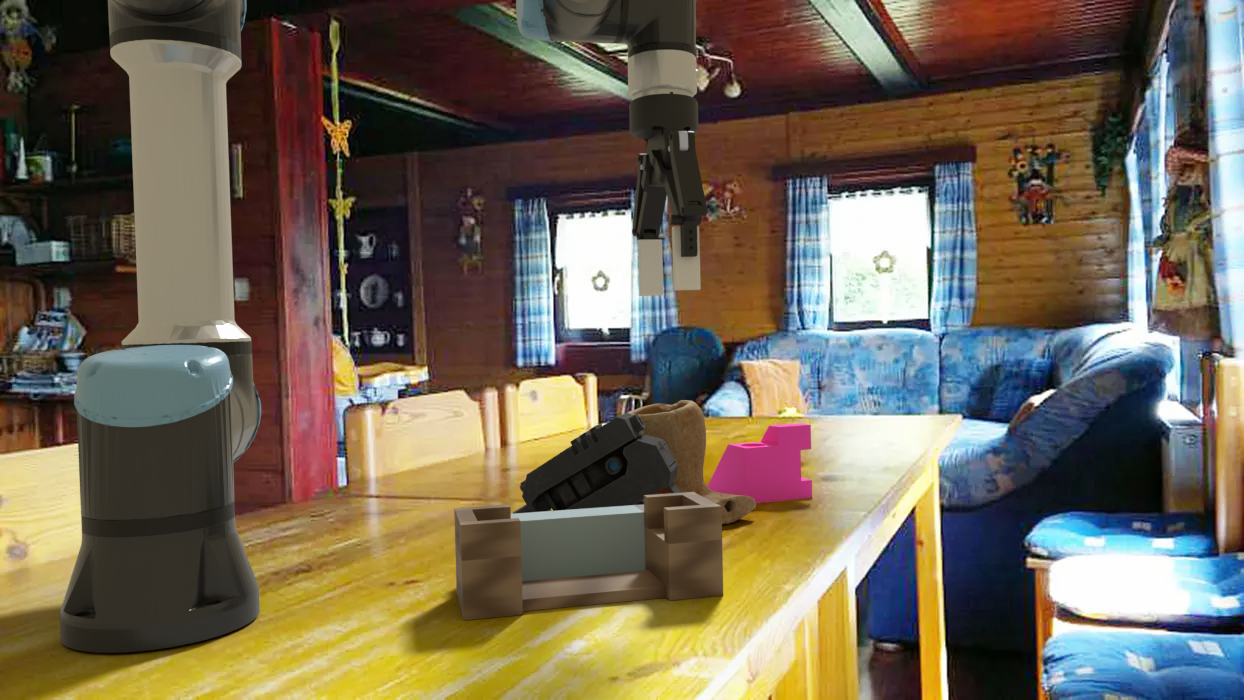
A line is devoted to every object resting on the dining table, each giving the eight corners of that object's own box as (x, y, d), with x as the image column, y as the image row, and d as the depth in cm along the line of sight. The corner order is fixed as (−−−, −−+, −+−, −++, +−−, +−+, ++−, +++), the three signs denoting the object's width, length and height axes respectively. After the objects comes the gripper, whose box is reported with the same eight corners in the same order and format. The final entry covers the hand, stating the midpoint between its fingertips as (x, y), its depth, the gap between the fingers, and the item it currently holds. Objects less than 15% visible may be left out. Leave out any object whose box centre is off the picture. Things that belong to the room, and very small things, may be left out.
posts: (463, 620, 79) (460, 525, 79) (456, 594, 87) (454, 508, 86) (723, 595, 84) (721, 506, 84) (695, 573, 92) (693, 491, 92)
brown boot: (604, 522, 118) (601, 403, 118) (660, 507, 127) (657, 396, 127) (706, 536, 109) (703, 406, 108) (758, 518, 118) (756, 399, 118)
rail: (482, 587, 89) (480, 524, 89) (478, 576, 93) (476, 516, 93) (664, 571, 93) (663, 510, 93) (653, 561, 97) (652, 503, 97)
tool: (702, 523, 102) (631, 403, 103) (555, 606, 105) (488, 489, 107) (708, 512, 108) (641, 399, 109) (569, 591, 111) (506, 480, 113)
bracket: (812, 498, 132) (810, 424, 131) (747, 505, 128) (745, 429, 128) (768, 485, 143) (767, 418, 143) (707, 491, 139) (706, 422, 139)
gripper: (736, 69, 92) (741, 286, 93) (663, 124, 116) (668, 296, 117) (662, 66, 90) (668, 287, 91) (604, 123, 115) (609, 297, 115)
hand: (668, 293), depth 104 cm, fingers open, 13 cm apart
